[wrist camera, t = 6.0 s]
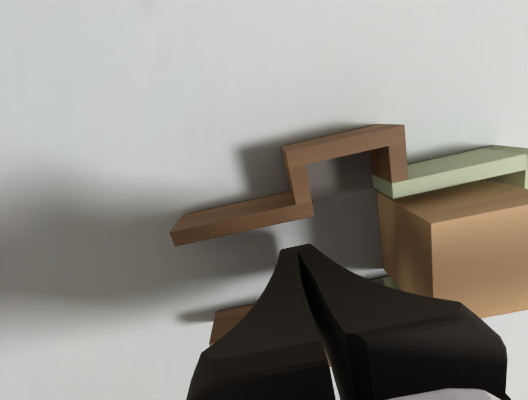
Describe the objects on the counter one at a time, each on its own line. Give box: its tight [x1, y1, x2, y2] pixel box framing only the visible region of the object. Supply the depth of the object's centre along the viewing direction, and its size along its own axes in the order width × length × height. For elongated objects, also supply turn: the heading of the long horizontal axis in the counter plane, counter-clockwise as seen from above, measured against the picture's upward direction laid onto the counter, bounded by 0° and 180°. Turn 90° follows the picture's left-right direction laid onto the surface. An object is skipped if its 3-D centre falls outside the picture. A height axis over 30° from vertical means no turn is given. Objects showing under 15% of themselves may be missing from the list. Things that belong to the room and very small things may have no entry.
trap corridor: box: [170, 124, 528, 367], centre depth 12 cm, size 10×14×2 cm
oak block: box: [377, 179, 528, 318], centre depth 11 cm, size 4×4×4 cm
